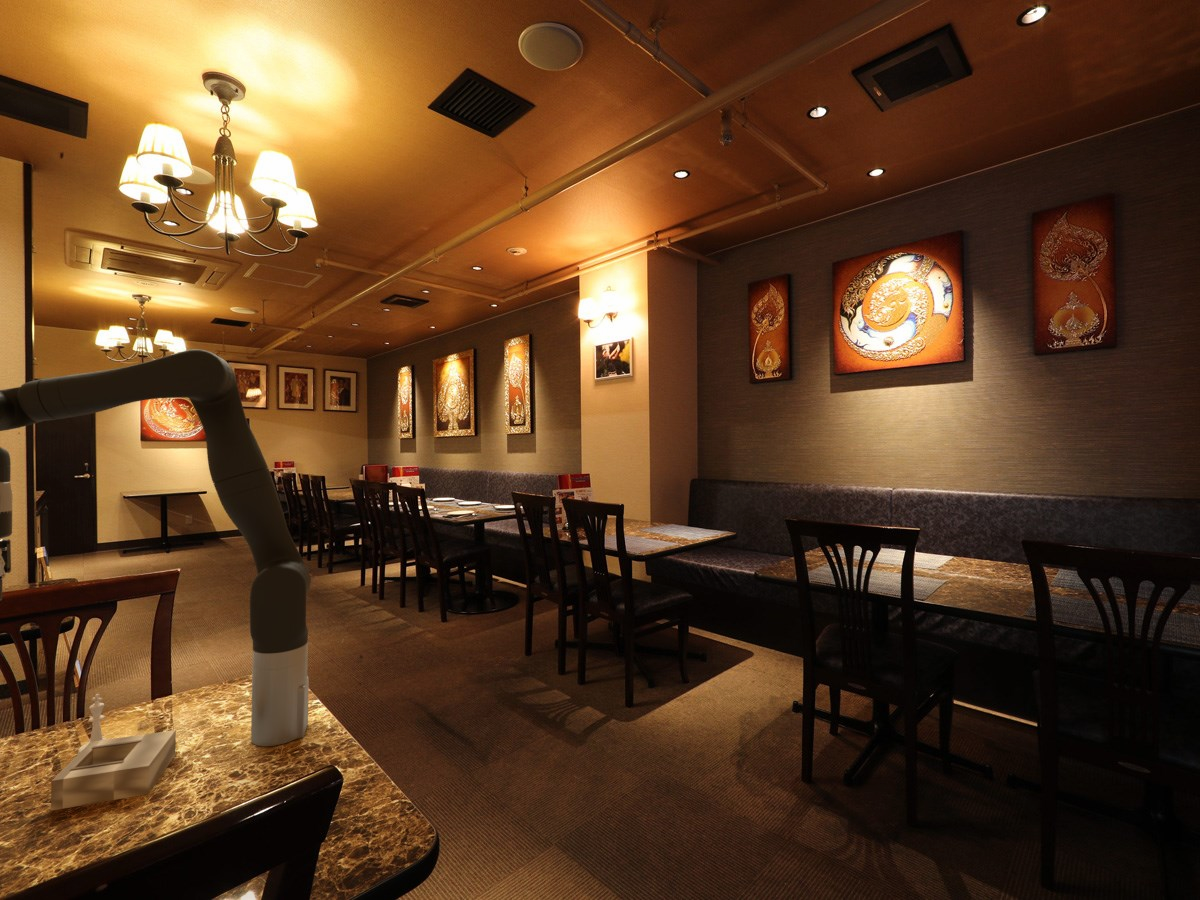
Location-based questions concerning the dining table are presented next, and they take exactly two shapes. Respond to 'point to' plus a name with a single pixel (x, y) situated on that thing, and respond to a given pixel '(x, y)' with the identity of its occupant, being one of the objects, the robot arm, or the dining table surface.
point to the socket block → (113, 770)
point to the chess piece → (95, 721)
